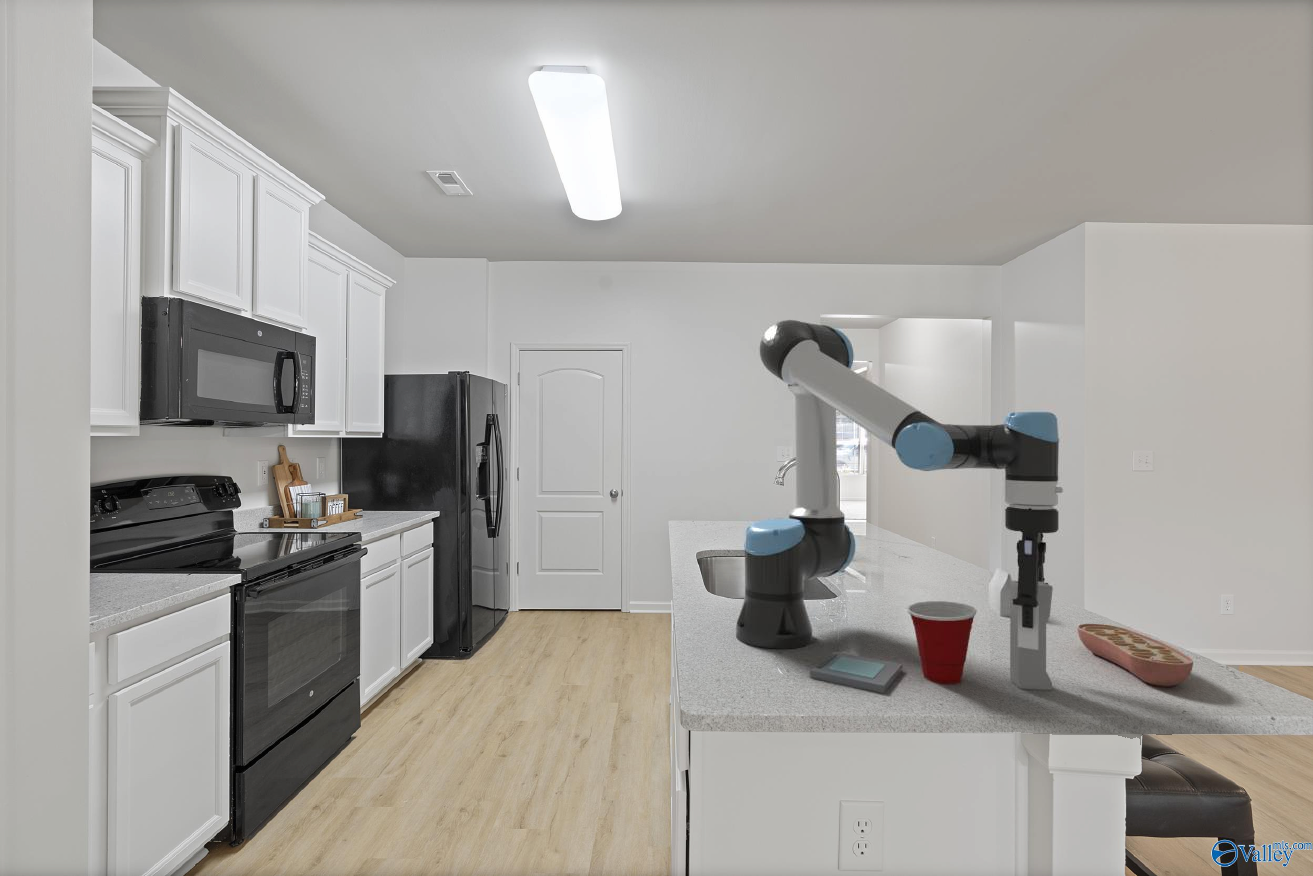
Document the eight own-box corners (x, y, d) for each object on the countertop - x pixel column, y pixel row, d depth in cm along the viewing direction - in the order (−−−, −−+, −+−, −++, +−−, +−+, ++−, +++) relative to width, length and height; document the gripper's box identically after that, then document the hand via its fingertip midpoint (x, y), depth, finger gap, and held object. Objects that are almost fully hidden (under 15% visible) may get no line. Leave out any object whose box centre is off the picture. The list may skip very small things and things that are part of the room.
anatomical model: (1067, 648, 126) (1067, 622, 126) (1121, 650, 125) (1121, 624, 125) (1146, 694, 103) (1146, 662, 103) (1213, 696, 102) (1213, 665, 102)
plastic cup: (897, 666, 115) (897, 598, 115) (959, 667, 114) (959, 599, 114) (919, 690, 104) (920, 614, 104) (988, 691, 103) (988, 616, 103)
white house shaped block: (1000, 617, 147) (1000, 573, 147) (988, 610, 154) (988, 567, 154) (1017, 618, 147) (1017, 574, 147) (1005, 610, 153) (1005, 568, 153)
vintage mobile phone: (1052, 691, 104) (1053, 534, 104) (1019, 689, 104) (1019, 533, 104) (1042, 682, 107) (1042, 531, 107) (1009, 681, 108) (1010, 530, 108)
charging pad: (810, 677, 109) (810, 669, 109) (833, 658, 119) (833, 650, 119) (883, 693, 102) (883, 685, 102) (902, 671, 112) (902, 663, 112)
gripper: (1054, 514, 93) (1054, 662, 93) (1061, 502, 114) (1061, 623, 114) (996, 511, 98) (996, 653, 97) (1013, 499, 118) (1013, 616, 118)
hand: (1031, 637), depth 106 cm, fingers open, 13 cm apart
